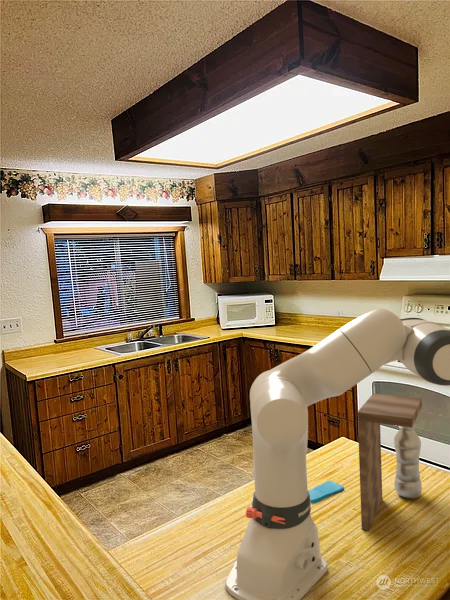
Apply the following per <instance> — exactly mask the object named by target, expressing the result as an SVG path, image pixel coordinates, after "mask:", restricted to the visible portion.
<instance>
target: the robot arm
mask: <svg viewBox="0 0 450 600" xmlns="http://www.w3.org/2000/svg"><path fill="white" fill-rule="evenodd" d="M396 361H398V362H399V363H401V364H402V365H404V367H405V368H406V369H407V370H409V371H410V372H411V373H413V374H415V375H416V376H418V377H420V378H422V379H423V380H425V381H426V382H428V383H431V384H434V385H437V386H438V385H439V386H450V328H447V327H445V326H443V325H442V324H440V323H438V322H437V323H436V322H434V321H429V320H427V319H423V318H421V317H406V318H405V317H404V318H400V317H399V316H398V315H397V314H396V313H394V312H393V311H391V310H388V309H385V308H376V309H372V310H370V311H368V312H366V313H364V314H362V315H360V316H358V317H356V318H355V319H352V320H351V321H349V322H347V323H345V324H344V325H342V326H341V327H339V328H338V329H336V330H335V331H334V332H332V333H331V334H328V336H327V337H325V338H324V339H322V340H320V341H318V343H316V344H314V345H313V346H311V347H310V348H309V349H307V350H306V351H303V352H302V353H301V354H298V355H296V356H294V357H292V358H290V359H288V360H286V361H284V362H282V363H280V364H279V365H277V366H275V367H273V368H271V369H270V370H269V369H268V370H266V371H263V372H262V373H260V374H259V375H258V376H257V377H256V378H255V380H254V381H253V382H252V385H251V387H250V390H249V402H250V403H249V404H250V407H249V408H250V416H251V418H250V419H251V433H252V435H251V436H252V457H253V458H252V460H253V461H252V462H253V476H254V477H253V478H254V480H253V481H254V491H253V494H252V495H253V497H252V501H251V506H248V507H247V508H246V509H245V510H246V511H245V517H246V518H249V521H248V525H247V526H246V529H245V531H244V532H245V533H244V534H243V537H242V540H241V542H240V546H239V549H238V551H237V555H236V560H235V561H234V563H233V566H232V567H231V570H230V572H229V573H228V576H227V578H226V580H225V582H224V583H225V584H224V588H225V589H226V591H227V592H228V593H229V594H230V595H231V596H232V597H234V598H235V599H237V600H302V599H303V598H304V596H305V595H306V594H307V593H308V592H309V590H311V589H312V587H314V585H315V584H317V582H318V581H319V580H320V579H321V578H323V575H325V574H326V572H328V570H329V568H328V562H327V561H326V560H325V559H324V558H323V557H322V553H321V546H320V538H319V528H318V526H317V524H316V523H315V522H314V519H313V518H312V515H311V511H312V508H311V507H312V503H311V499H310V494H309V492H308V491H309V490H308V474H307V473H308V471H307V469H308V468H307V451H308V438H309V437H308V436H309V434H308V433H309V411H308V407H309V406H312V405H313V404H316V403H318V402H320V401H323V400H325V399H328V398H333V397H334V398H335V397H338V396H341V395H343V394H345V392H347V391H349V390H350V389H352V388H353V387H355V386H356V385H358V384H359V383H360V382H361V381H363V380H365V379H366V378H367V377H369V376H371V375H372V374H373V373H375V372H377V371H378V370H379V369H380V368H381V367H383V366H384V365H386V364H389V363H392V362H396Z"/></svg>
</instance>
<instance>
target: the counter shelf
mask: <svg viewBox="0 0 450 600" xmlns="http://www.w3.org/2000/svg"><path fill="white" fill-rule="evenodd" d="M422 408H423V397H422V398H421V397H411V396H403V395H402V396H401V395H392V394H384V393H383V394H381V393H372V394H371V396H370V397H369V398H368V399H367V400H366V401H365V403H364V404H363V405H362V406H361V407H360V408H359V409H358V411H357V428H358V429H357V433H358V434H357V435H358V436H357V437H358V460H359V462H358V463H359V464H358V465H359V486H360V489H359V493H360V517H361V519H360V520H361V522H360V523H361V530H363V531H367V532H369V530H370V528H371V526H372V523H373V521H374V520H375V517H376V515H377V512H378V510H379V508H380V506H381V504H382V501H383V477H382V476H383V475H382V443H381V440H382V439H381V437H382V436H381V425H382V424H383V425H388V426H389V425H390V426H398V427H399V426H404V427H413V424H414V425H415V423H416V419H417V418H418V416H419V414H420V412H421V409H422Z"/></svg>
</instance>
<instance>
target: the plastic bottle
mask: <svg viewBox="0 0 450 600" xmlns="http://www.w3.org/2000/svg"><path fill="white" fill-rule="evenodd" d="M398 429H399V430H398V431H397V432H396V433H395V435H394V438H393V443H394V448H395V457H396V458H395V459H396V470H395V477H394V478H395V479H394V489H395V491H396V493H397V495H399V496H400V497H401V498H406V499H417V498H419V497H420V495H421V494H422V490H423V489H422V488H423V487H422V480H421V477H420V455H421V447H422V441H421V439H420V437H419V435H418V434H417V433H416V431H415V430H416V426H415V423H414V424H413V427H404V426H398Z"/></svg>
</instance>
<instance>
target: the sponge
mask: <svg viewBox="0 0 450 600" xmlns="http://www.w3.org/2000/svg"><path fill="white" fill-rule="evenodd" d="M344 490H345V487H344V486H343V485H341V484H339V483H338V482H335V481H332V480H327V481H325V482H324V483H322V484H319V485H317V486H315V487H313V488H311V489H309V490H308V492H309V494H310V499H311V504H315V503H318V502H321V501H323V500H325V499H327V498H329V497H331V496H333V495H336V494H339V493H340V492H343V491H344Z"/></svg>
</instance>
